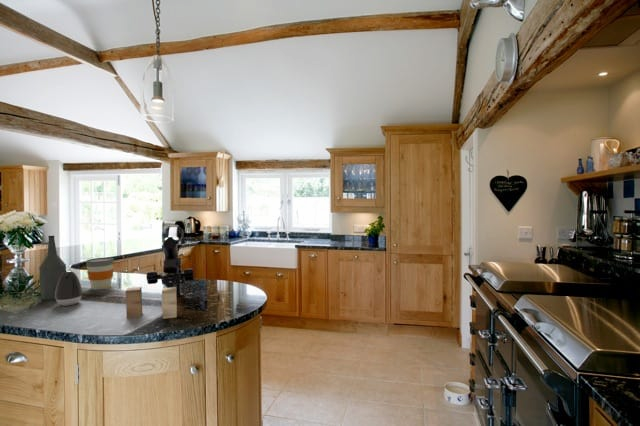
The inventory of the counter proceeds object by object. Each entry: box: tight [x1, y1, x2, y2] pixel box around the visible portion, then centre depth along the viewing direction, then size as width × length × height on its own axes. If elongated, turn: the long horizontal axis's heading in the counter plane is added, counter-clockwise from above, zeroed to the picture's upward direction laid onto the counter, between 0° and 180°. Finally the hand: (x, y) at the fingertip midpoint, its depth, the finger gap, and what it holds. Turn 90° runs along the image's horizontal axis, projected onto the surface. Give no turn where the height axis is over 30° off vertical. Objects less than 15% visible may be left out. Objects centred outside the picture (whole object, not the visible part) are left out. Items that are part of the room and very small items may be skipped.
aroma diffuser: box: [54, 270, 84, 307], centre depth 161 cm, size 10×10×15 cm
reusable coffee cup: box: [86, 257, 115, 290], centre depth 190 cm, size 13×13×15 cm
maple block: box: [161, 287, 178, 320], centre depth 144 cm, size 5×5×11 cm
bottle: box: [38, 235, 67, 301], centre depth 172 cm, size 10×10×30 cm
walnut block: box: [125, 286, 143, 319], centre depth 145 cm, size 5×5×11 cm
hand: (170, 293), depth 149 cm, fingers closed
